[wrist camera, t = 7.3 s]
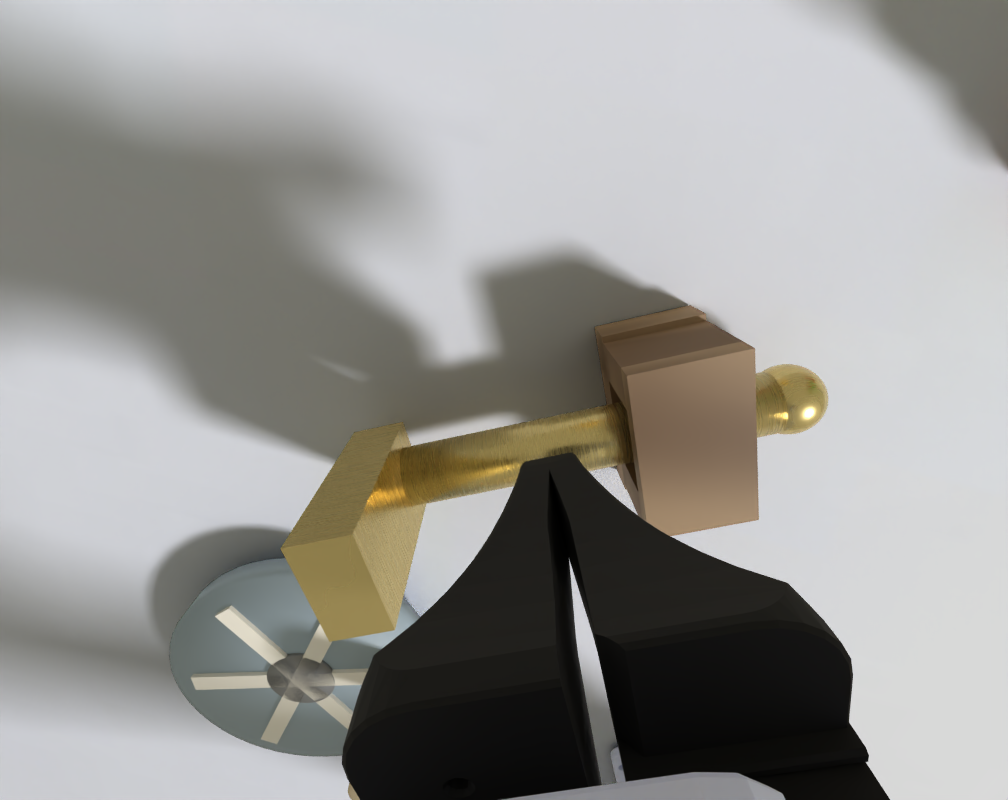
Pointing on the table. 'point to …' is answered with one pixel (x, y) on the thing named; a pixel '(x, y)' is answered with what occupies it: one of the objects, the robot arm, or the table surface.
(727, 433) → the eye block
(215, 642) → the handwheel
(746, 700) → the robot arm
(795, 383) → the hook rod
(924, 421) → the table surface
